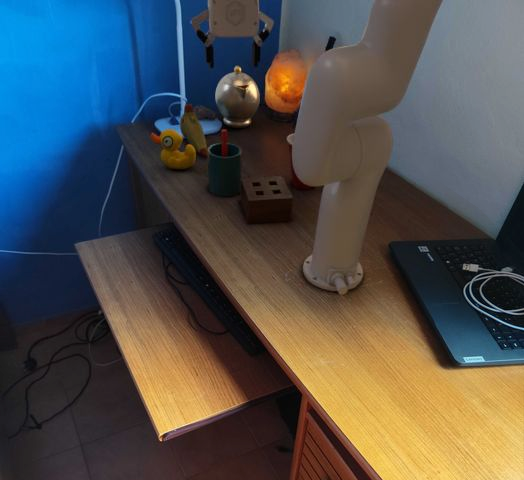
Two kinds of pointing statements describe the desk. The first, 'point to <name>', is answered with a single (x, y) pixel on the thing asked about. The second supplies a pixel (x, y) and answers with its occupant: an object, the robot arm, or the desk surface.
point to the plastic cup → (295, 179)
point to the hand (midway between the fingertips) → (233, 65)
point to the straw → (224, 143)
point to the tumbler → (224, 170)
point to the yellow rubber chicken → (193, 130)
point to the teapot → (237, 98)
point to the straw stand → (266, 199)
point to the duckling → (174, 150)
